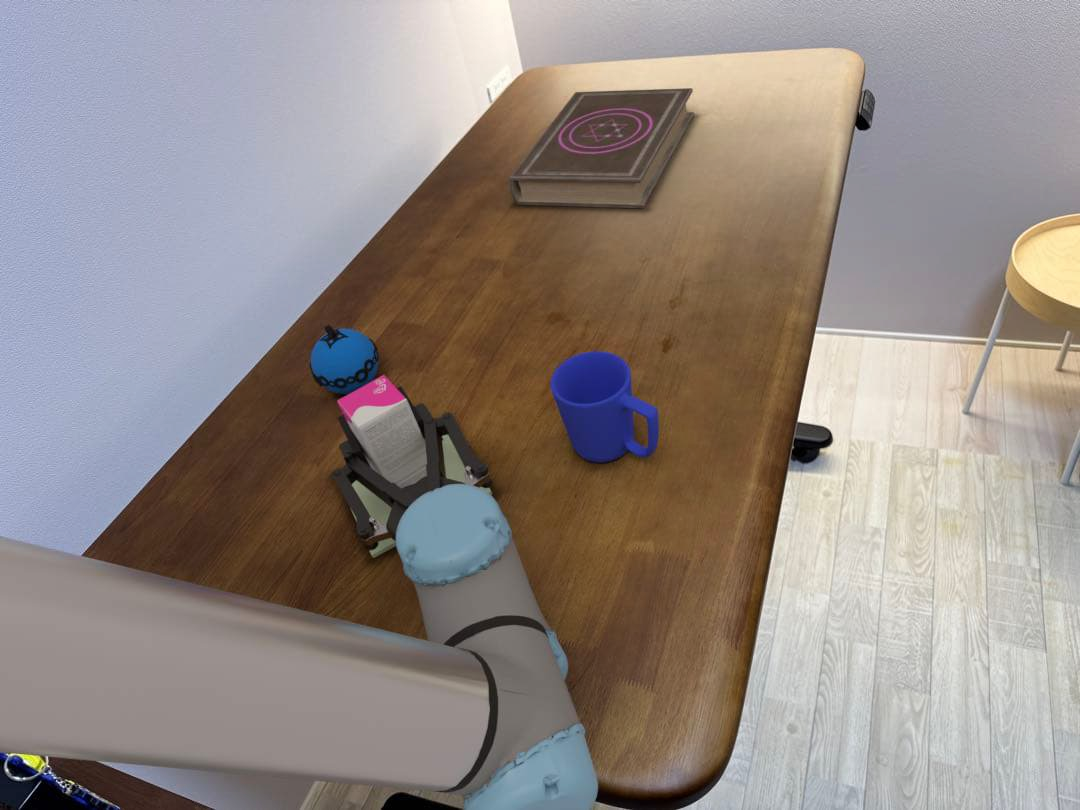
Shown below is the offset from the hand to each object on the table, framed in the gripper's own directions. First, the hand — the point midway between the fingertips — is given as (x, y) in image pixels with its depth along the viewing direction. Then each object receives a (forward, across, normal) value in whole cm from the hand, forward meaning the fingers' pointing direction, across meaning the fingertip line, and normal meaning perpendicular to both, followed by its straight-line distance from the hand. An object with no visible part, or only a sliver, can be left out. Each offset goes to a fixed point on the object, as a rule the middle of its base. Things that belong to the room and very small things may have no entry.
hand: (373, 410), depth 85 cm
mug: (-15, +21, -8) cm, 27 cm away
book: (+43, +55, -8) cm, 70 cm away
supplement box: (-5, 0, -6) cm, 8 cm away
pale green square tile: (-5, 0, -8) cm, 9 cm away
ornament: (+16, 0, -8) cm, 18 cm away
